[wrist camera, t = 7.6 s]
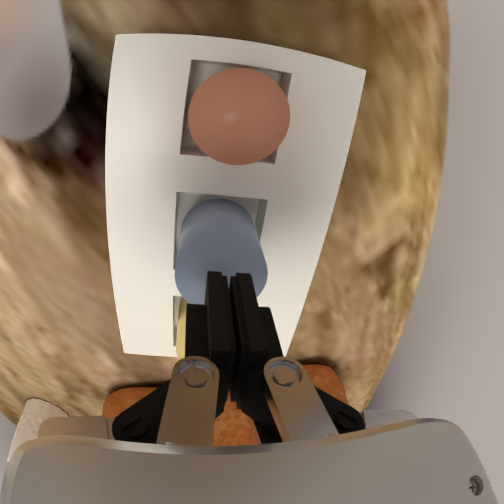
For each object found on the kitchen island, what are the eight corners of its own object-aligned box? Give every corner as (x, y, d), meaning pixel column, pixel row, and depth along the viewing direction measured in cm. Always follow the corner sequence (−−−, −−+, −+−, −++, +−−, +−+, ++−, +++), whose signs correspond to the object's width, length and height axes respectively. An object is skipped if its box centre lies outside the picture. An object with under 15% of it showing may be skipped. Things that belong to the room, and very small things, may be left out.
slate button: (182, 195, 15) (176, 232, 12) (260, 202, 16) (276, 240, 12) (178, 262, 17) (174, 309, 14) (248, 266, 18) (259, 313, 14)
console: (132, 42, 13) (115, 34, 10) (338, 70, 15) (366, 70, 12) (130, 320, 23) (124, 352, 20) (276, 326, 25) (284, 358, 22)
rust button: (198, 67, 13) (195, 62, 10) (276, 78, 14) (298, 77, 10) (188, 142, 15) (182, 160, 12) (263, 150, 16) (280, 170, 12)
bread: (329, 416, 37) (363, 523, 22) (145, 441, 35) (146, 549, 21) (341, 347, 29) (405, 504, 14) (92, 382, 27) (73, 532, 13)
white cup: (15, 389, 27) (-4, 452, 19) (64, 402, 29) (50, 471, 20) (35, 418, 31) (22, 473, 23) (80, 429, 33) (72, 489, 24)
